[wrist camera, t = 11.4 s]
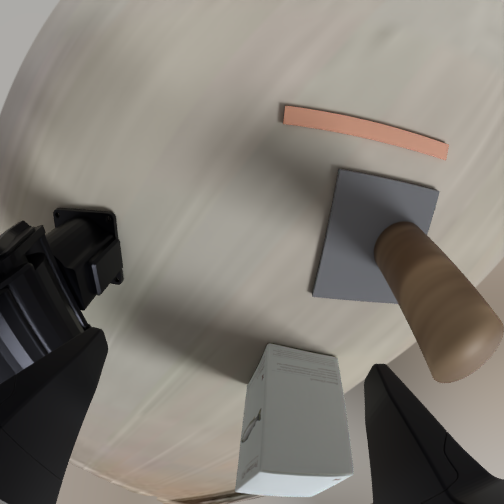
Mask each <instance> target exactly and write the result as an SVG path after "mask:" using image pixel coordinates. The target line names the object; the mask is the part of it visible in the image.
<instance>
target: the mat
mask: <svg viewBox="0 0 504 504" xmlns="http://www.w3.org/2000/svg"><path fill="white" fill-rule="evenodd" d="M438 195H439V191H437V190H434V189H431V188H427V187H423V186H419V185H415V184H411V183H407V182H402V181H398V180H394V179H389V178H385V177H380V176H375V175H370V174H365V173H360V172H355V171H350V170H344V169H339V170H338V176H337V181H336V187H335V192H334V197H333V202H332V208H331V213H330V217H329V222H328V227H327V232H326V237H325V241H324V246H323V250H322V255H321V259H320V263H319V267H318V272H317V276H316V280H315V284H314V288H313V292H312V296H313V297H321V298H331V299H343V300H354V301H367V302H380V303H394V304H398V302H397V300H396V298H395V296H394V294H393V293H392V291H391V289H390V287H389V285H388V283H387V281H386V280H385V278H384V276H383V274H382V272H381V271H380V269H379V267H378V265H377V264H376V262H375V259H374V247H375V243H376V241H377V239H378V237H379V236H380V234H381V233H382V232H383V231H384V230H385V229H386V228H387V227H389V226H390V225H392V224H394V223H397V222H404V221H405V222H411V223H413V224H415V225H417V226H418V227H419V228H420V229H421V230H422V231H423V232H424V233H425V234H426V235H427V233H428V230H429V227H430V224H431V220H432V217H433V214H434V210H435V207H436V203H437V199H438Z"/></svg>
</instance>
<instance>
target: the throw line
mask: <svg viewBox="0 0 504 504" xmlns="http://www.w3.org/2000/svg"><path fill="white" fill-rule="evenodd" d="M283 124H288V125H296V126H303V127H309V128H315V129H321V130H327V131H333V132H338V133H343V134H348V135H353V136H358V137H362V138H367V139H371V140H375V141H380V142H384V143H388V144H392V145H396V146H399V147H403V148H407V149H410V150H414V151H417V152H421V153H424V154H427V155H430V156H434V157H437V158H440V159H443V160H446V158H447V153H448V147H449V145H448V144H445V143H442V142H439V141H436V140H434V139H431V138H428V137H424V136H421V135H418V134H415V133H412V132H408V131H405V130H402V129H398V128H395V127H391V126H387V125H383V124H379V123H376V122H371V121H367V120H363V119H359V118H354V117H350V116H345V115H340V114H335V113H329V112H324V111H318V110H312V109H306V108H299V107H292V106H285V112H284V120H283Z"/></svg>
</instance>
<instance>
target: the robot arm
mask: <svg viewBox="0 0 504 504" xmlns="http://www.w3.org/2000/svg"><path fill="white" fill-rule="evenodd" d="M58 213H59V215H58ZM53 216H54V222H55V229H54V230H52V231H51V232H49V233H48V234H47V235H45V229H44V227H43V225H40V226H37V227H31V226H29V225H28V224H27V223H26V222H25V221H21V222H18V223H17V224H15V225H14V226H12V227H11V228H9V229H8V230H7V231H5V232H4V233H3V234H1V235H0V504H56V501H57V498H58V494H59V491H60V487H61V484H62V480H63V477H64V474H65V471H66V468H67V465H68V462H69V459H70V456H71V453H72V450H73V447H74V445H75V442H76V439H77V436H78V434H79V431H80V428H81V426H82V423H83V421H84V418H85V415H86V413H87V410H88V408H89V405H90V403H91V401H92V398H93V396H94V393H95V391H96V388H97V385H98V382H99V379H100V375H101V372H102V369H103V366H104V362H105V359H106V356H107V353H108V344H107V341H106V338H105V335H104V332H103V330H102V329H99V328H95V327H91V326H90V324H88V323H87V321H86V319H85V318H84V316H83V314H82V312H81V310H85V309H86V308H87V306H88V305H89V304H90V302H91V301H92V300H93V299H94V297H95V296H96V295H101V294H102V293H103V291H104V290H105V289H106V287H107V286H108V285H109V284H110V283H111V284H117V285H120V284H121V283H122V282H123V279H124V278H123V271H122V268H123V263H122V256H121V248H120V241H119V239H118V232H117V223H116V216H115V214H114V213H113V212H108V211H95V210H82V209H68V208H57V209H56V210H54V212H53ZM108 217H110V218H111V221H110V220H109V219H108ZM116 277H117V278H118V279H119V280H118V279H117V278H116ZM364 392H365V393H364V394H365V424H366V432H367V439H368V449H369V458H370V468H371V478H372V491H373V504H504V480H502V479H499V478H497V477H494V476H493V475H491V474H490V473H489V472H487V471H486V470H485V469H484V468H483V467H482V466H481V465H480V464H479V463H478V462H477V461H476V460H474V459H473V458H472V457H471V456H470V455H469V454H468V453H467V452H466V451H465V450H464V449H463V448H462V447H461V446H460V445H459V444H458V443H457V442H456V441H455V440H454V439H453V437H452V436H451V435H450V434H449V433H448V432H446V430H445V429H444V427H443V426H442V425H441V424H440V423H439V422H438V421H437V420H436V418H434V416H433V415H432V414H431V413H430V412H429V411H428V410H427V408H425V406H424V405H423V404H422V403H421V402H420V401H419V400H418V399H417V398H416V396H415V395H414V394H413V393H412V392H411V391H410V390H409V389H408V388H407V387H406V385H405V384H404V383H403V382H402V381H401V380H400V379H399V378H398V377H397V376H396V375H395V373H394V372H393V371H392V370H391V369H390V368H389V367H388V366H387V365H386V364H374V365H373V366H372V368H371V370H370V372H369V373H368V375H367V377H366V379H365V382H364Z"/></svg>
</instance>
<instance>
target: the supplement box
mask: <svg viewBox="0 0 504 504" xmlns="http://www.w3.org/2000/svg"><path fill="white" fill-rule="evenodd" d="M353 474H354V471H353V460H352V453H351V444H350V436H349V428H348V421H347V414H346V407H345V401H344V394H343V388H342V382H341V376H340V370H339V365H338V358H337V357H333V356H328V355H323V354H317V353H313V352H308V351H303V350H299V349H294V348H289V347H285V346H281V345H276V344H270V343H269V344H267V346H266V349H265V351H264V354H263V356H262V358H261V361H260V363H259V365H258V367H257V369H256V371H255V373H254V375H253V376H252V378H251V380H250V382H249V383H248V385H247V392H246V400H245V409H244V417H243V426H242V434H241V443H240V452H239V462H238V471H237V479H236V487H235V492H240V493H247V494H256V495H267V496H285V497H311V496H314V495H316V494H318V493H320V492H322V491H324V490H326V489H328V488H330V487H332V486H334V485H335V484H337V483H339V482H341V481H343V480H345V479H346V478H348V477H350V476H352V475H353Z"/></svg>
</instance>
